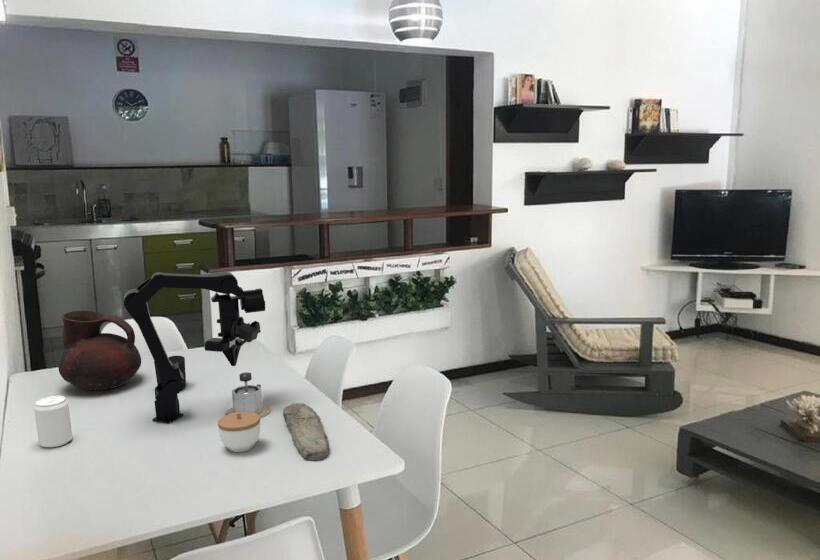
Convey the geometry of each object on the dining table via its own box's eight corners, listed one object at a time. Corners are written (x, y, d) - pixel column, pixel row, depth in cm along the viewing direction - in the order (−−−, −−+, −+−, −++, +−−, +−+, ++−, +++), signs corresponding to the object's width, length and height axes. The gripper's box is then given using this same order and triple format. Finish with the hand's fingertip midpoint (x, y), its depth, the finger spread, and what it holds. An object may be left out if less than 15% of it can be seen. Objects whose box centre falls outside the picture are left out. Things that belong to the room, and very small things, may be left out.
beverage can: (35, 450, 180) (29, 407, 177) (43, 438, 187) (37, 397, 185) (69, 446, 182) (64, 403, 179) (75, 434, 189) (70, 393, 187)
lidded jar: (218, 442, 182) (215, 409, 180) (258, 435, 185) (256, 403, 184) (222, 459, 172) (219, 424, 170) (265, 451, 176) (262, 417, 174)
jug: (117, 400, 215) (108, 323, 210) (44, 397, 219) (34, 322, 214) (157, 374, 239) (150, 304, 235) (92, 372, 243) (83, 304, 239)
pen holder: (162, 384, 228) (159, 356, 227) (190, 383, 229) (188, 355, 227) (153, 394, 219) (150, 364, 217) (182, 393, 220) (179, 363, 218)
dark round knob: (249, 396, 197) (247, 378, 196) (233, 394, 199) (232, 376, 198) (259, 390, 202) (258, 372, 201) (244, 388, 204) (242, 370, 203)
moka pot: (254, 423, 194) (252, 399, 192) (216, 418, 198) (214, 395, 197) (279, 406, 206) (277, 384, 204) (242, 402, 210) (240, 380, 209)
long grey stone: (296, 470, 168) (336, 465, 171) (297, 450, 167) (337, 446, 170) (277, 412, 201) (311, 409, 204) (277, 395, 199) (311, 392, 202)
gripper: (234, 324, 189) (239, 378, 192) (270, 308, 206) (273, 358, 209) (200, 322, 193) (205, 375, 196) (238, 307, 210) (242, 355, 213)
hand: (233, 365), depth 204 cm, fingers closed
